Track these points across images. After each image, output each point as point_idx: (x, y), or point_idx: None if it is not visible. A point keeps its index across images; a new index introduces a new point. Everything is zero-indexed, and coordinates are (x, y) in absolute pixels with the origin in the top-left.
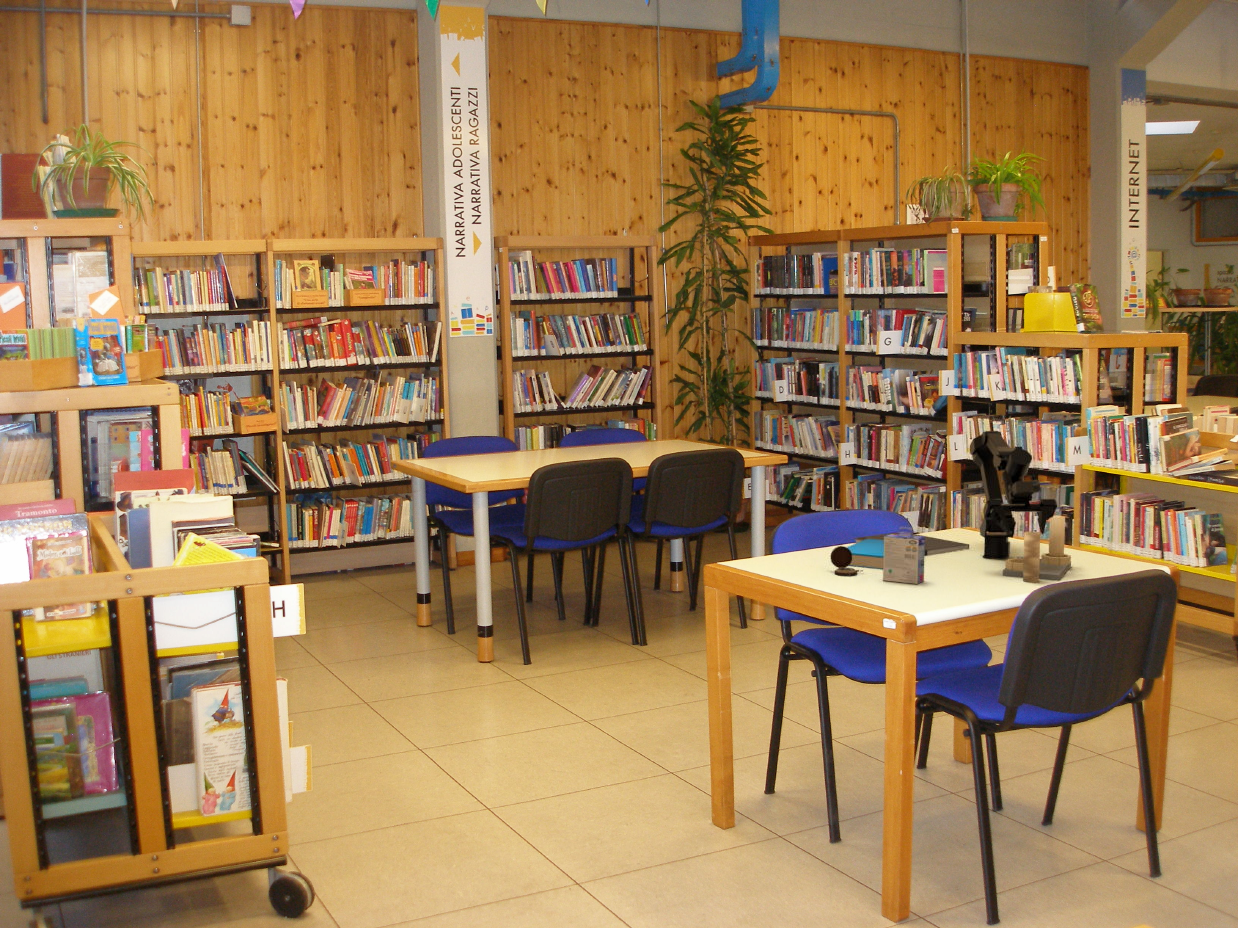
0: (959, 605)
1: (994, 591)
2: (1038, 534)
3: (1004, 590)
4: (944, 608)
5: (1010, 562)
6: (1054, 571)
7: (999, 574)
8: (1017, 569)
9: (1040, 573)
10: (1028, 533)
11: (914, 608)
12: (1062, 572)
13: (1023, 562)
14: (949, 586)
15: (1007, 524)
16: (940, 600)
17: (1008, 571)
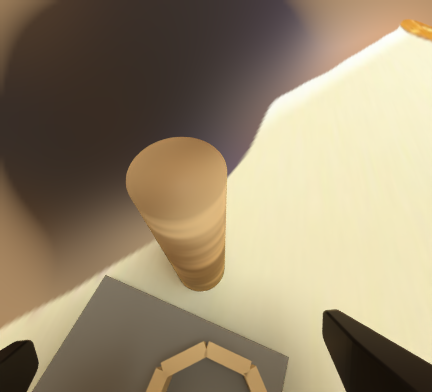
0: (357, 67)
1: (306, 147)
2: (152, 148)
3: (285, 157)
4: (376, 55)
5: (261, 378)
6: (88, 348)
7: (295, 387)
8: (230, 350)
9: (157, 299)
10: (207, 151)
11: (418, 51)
12: (55, 360)
13: (224, 252)
14: (417, 181)
15: (387, 361)
16: (396, 86)
17: (265, 347)
